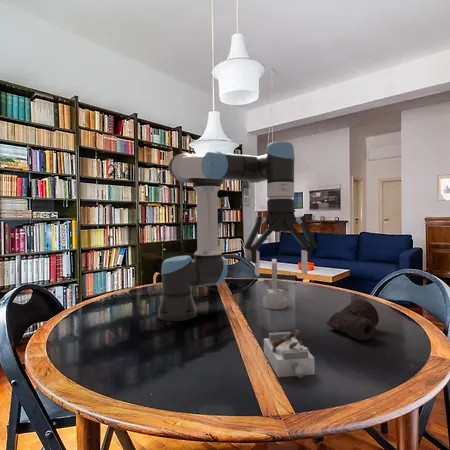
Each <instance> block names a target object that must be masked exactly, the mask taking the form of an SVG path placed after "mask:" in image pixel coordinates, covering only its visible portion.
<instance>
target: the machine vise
mask: <svg viewBox="0 0 450 450" xmlns="http://www.w3.org/2000/svg"><path fill="white" fill-rule="evenodd" d="M291 333H292V332H291V331H280V332H268V338H263V353H264V355H265V357H266V359H267V361H268V362H269V364H270V366H271V368H272V370H273V371H274V373H275V374H276V376H277V378H283V377H284V378H287V377H298V378H300V379H301V378H303V377H305V376H310V375H312V376H314V375H315V373H316V372H315V371H316V370H315V369H316V367H315V366H316V365H315V357H314V356H313V355H312V354H311V352H310V349H309V347H308V346H305V345H304V344H303V345H302V346H301V345H300V344H299V343H298V344H296V346H295V347H293V348H292V347H291V348H289V346H290V344H292V343H293V342H294V343H296V342H298V340H297V339H295V338H296V336H293V337H295V338H293V337H292V338H290V340H288V341H286V342H283V343H282V344H280V345H279V346H278V347H276V350H275V349H274V348H273V346H272V344H271V341H272V342H275V341H278V340H280V339H282V338H283V337H285V336H287V335H289V334H291Z"/></svg>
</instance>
